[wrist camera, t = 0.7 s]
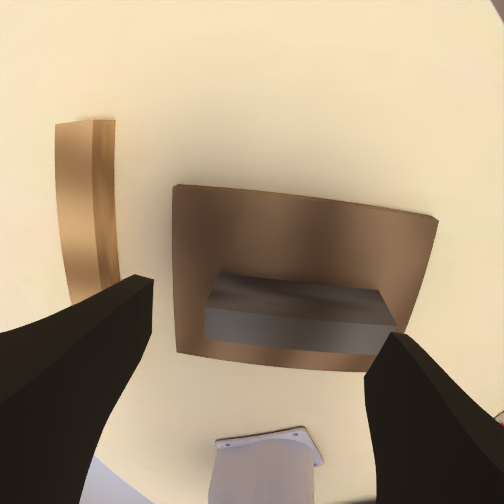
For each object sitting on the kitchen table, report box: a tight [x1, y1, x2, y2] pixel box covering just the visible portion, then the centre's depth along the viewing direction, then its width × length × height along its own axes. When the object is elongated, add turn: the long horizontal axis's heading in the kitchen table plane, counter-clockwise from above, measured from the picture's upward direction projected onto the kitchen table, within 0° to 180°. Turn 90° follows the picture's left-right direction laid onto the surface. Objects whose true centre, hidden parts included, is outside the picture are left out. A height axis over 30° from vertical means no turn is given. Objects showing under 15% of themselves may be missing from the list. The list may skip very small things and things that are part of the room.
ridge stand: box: [172, 184, 439, 372], centre depth 17 cm, size 16×12×5 cm
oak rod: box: [55, 120, 120, 305], centre depth 20 cm, size 20×3×3 cm, turn 175°
